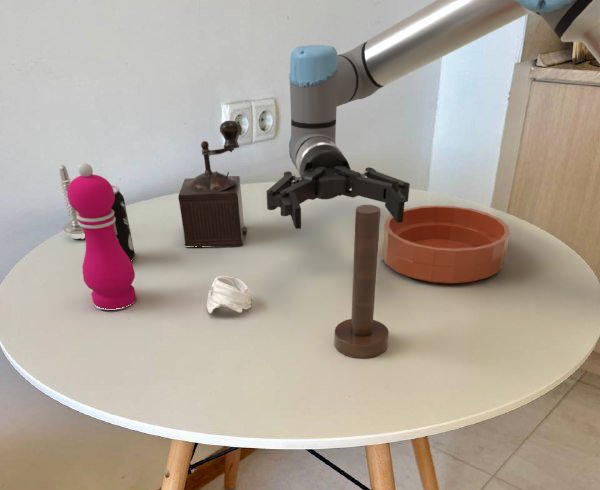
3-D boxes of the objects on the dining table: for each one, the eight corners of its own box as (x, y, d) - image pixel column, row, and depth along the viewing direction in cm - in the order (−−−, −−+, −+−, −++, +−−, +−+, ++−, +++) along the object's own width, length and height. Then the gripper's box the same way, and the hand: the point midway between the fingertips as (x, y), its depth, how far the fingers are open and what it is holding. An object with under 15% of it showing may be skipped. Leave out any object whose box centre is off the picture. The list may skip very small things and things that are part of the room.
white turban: (206, 301, 90) (200, 271, 88) (250, 293, 91) (244, 263, 88) (209, 323, 84) (202, 291, 81) (256, 314, 84) (250, 282, 82)
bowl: (528, 272, 95) (536, 236, 91) (425, 297, 88) (430, 259, 85) (453, 231, 109) (458, 199, 105) (360, 251, 102) (362, 216, 99)
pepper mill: (80, 308, 87) (42, 168, 75) (109, 287, 93) (79, 154, 81) (121, 316, 85) (89, 173, 73) (149, 295, 90) (123, 158, 78)
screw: (73, 244, 107) (61, 237, 110) (97, 237, 110) (85, 230, 112) (54, 170, 99) (42, 164, 102) (81, 164, 102) (68, 159, 105)
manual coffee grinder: (246, 246, 105) (238, 138, 94) (184, 248, 105) (169, 140, 94) (248, 216, 117) (241, 117, 106) (192, 217, 117) (180, 119, 106)
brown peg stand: (397, 350, 77) (411, 213, 66) (350, 363, 74) (356, 223, 63) (370, 326, 82) (378, 195, 71) (325, 338, 79) (326, 204, 69)
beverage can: (123, 250, 104) (109, 181, 97) (143, 261, 101) (129, 189, 93) (89, 261, 101) (71, 190, 94) (107, 272, 97) (91, 199, 90)
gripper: (397, 188, 97) (439, 237, 80) (245, 197, 95) (255, 249, 78) (401, 139, 93) (446, 180, 76) (242, 147, 90) (252, 191, 73)
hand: (350, 215), depth 77 cm, fingers open, 13 cm apart
